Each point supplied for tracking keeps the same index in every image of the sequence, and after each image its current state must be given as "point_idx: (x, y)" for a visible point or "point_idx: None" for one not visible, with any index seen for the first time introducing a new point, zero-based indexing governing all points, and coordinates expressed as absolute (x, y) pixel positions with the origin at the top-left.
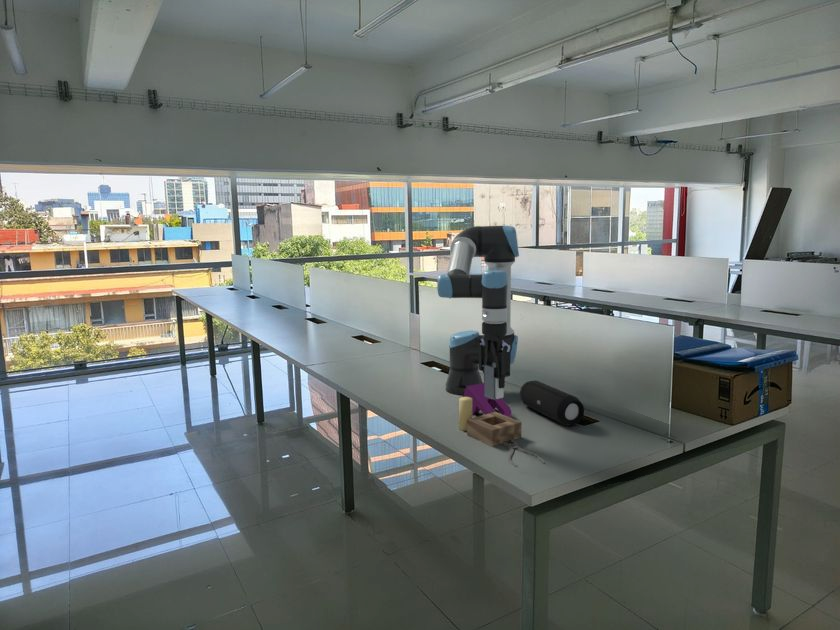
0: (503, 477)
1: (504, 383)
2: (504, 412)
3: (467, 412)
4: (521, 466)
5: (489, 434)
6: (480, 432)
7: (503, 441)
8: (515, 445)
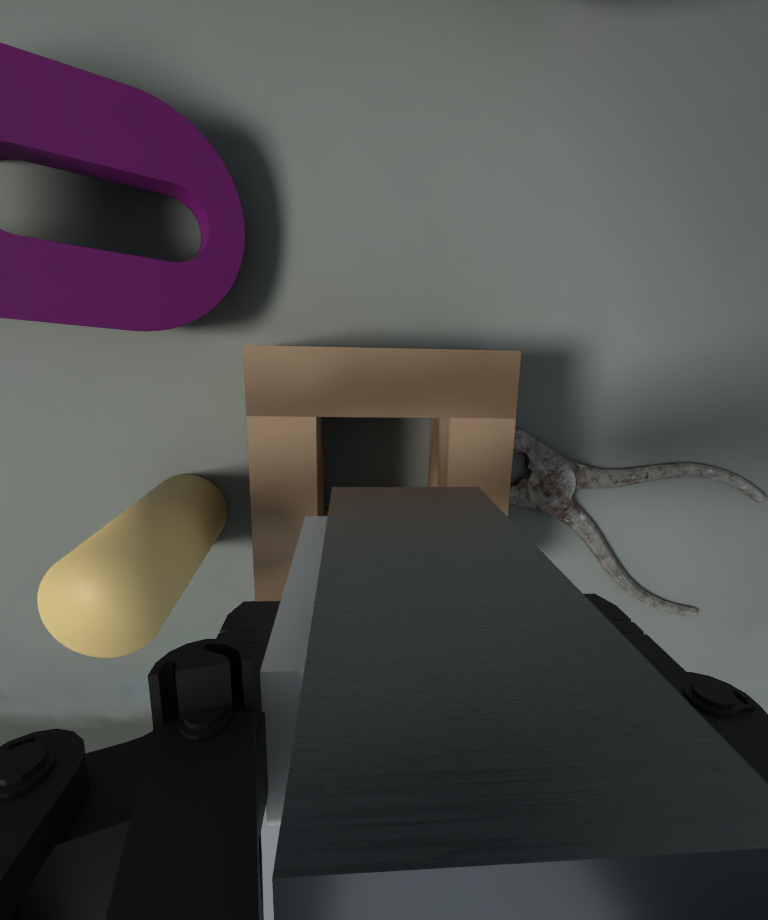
0: None
1: (641, 634)
2: (178, 187)
3: (193, 574)
4: (706, 593)
5: None
6: None
7: None
8: (557, 472)
